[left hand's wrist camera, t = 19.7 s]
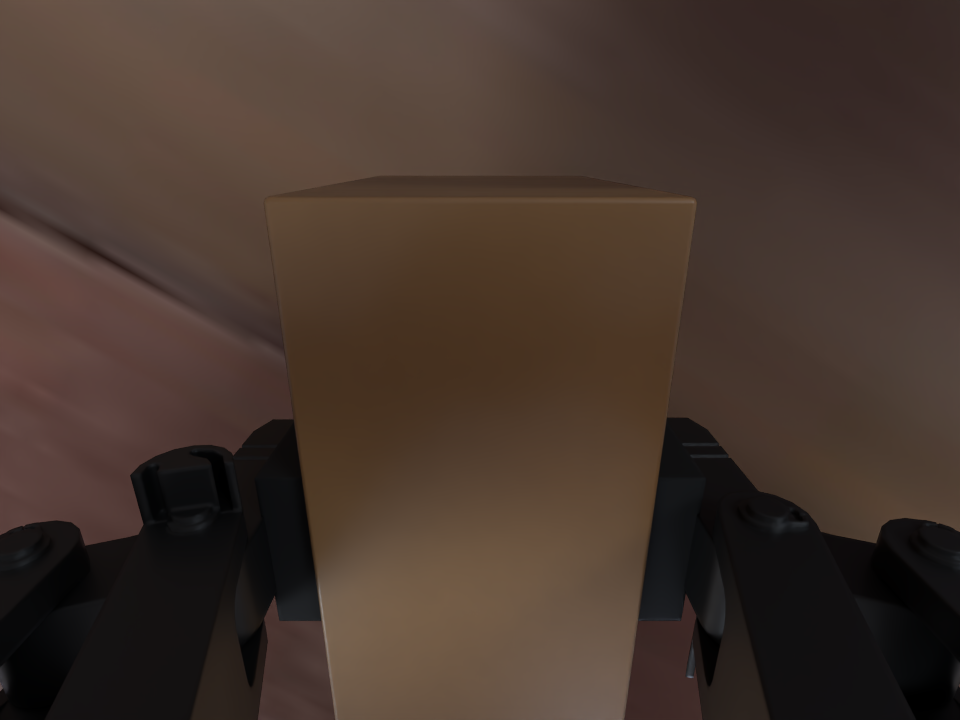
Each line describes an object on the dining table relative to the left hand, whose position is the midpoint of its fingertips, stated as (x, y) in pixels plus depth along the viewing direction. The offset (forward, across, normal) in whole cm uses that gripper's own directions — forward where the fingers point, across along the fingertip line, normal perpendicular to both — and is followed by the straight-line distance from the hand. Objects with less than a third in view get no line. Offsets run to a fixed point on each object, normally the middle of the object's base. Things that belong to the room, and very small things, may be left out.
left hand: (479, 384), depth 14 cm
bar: (+1, 0, -25) cm, 25 cm away
